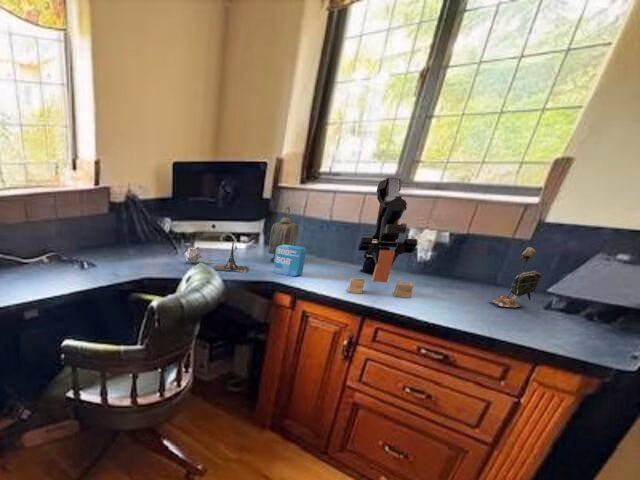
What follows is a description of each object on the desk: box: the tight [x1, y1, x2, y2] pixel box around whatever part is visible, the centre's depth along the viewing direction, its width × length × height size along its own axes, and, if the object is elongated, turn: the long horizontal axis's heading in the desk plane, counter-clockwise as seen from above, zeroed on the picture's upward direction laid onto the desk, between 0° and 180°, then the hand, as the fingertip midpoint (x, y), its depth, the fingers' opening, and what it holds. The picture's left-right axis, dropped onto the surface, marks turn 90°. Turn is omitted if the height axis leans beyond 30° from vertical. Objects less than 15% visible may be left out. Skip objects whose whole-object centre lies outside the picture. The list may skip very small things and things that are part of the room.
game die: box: [182, 246, 202, 265], centre depth 209 cm, size 9×8×10 cm
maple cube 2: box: [393, 280, 414, 299], centre depth 157 cm, size 5×5×5 cm
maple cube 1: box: [347, 277, 365, 294], centre depth 162 cm, size 5×5×5 cm
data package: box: [272, 244, 307, 277], centre depth 186 cm, size 12×4×12 cm, turn 42°
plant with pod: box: [491, 246, 542, 308], centre depth 141 cm, size 8×11×20 cm
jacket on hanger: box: [268, 206, 299, 262], centre depth 206 cm, size 14×9×25 cm, turn 144°
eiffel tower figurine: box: [213, 241, 249, 274], centre depth 196 cm, size 15×10×13 cm
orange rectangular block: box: [371, 249, 395, 283], centre depth 160 cm, size 5×5×11 cm
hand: (384, 264), depth 158 cm, fingers closed on orange rectangular block, 5 cm apart
